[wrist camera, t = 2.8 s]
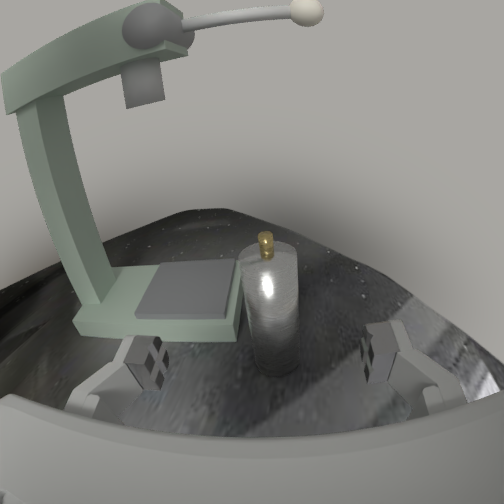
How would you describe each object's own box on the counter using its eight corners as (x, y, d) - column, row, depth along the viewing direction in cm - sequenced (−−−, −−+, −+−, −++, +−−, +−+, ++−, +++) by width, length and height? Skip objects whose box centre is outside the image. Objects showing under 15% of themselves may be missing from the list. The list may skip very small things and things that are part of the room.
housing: (254, 377, 31) (231, 252, 23) (256, 344, 35) (238, 223, 27) (300, 375, 30) (297, 248, 22) (298, 342, 35) (294, 219, 27)
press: (73, 334, 39) (-16, 77, 19) (108, 281, 51) (50, 68, 31) (341, 336, 35) (331, -35, 15) (326, 270, 46) (311, 3, 27)
